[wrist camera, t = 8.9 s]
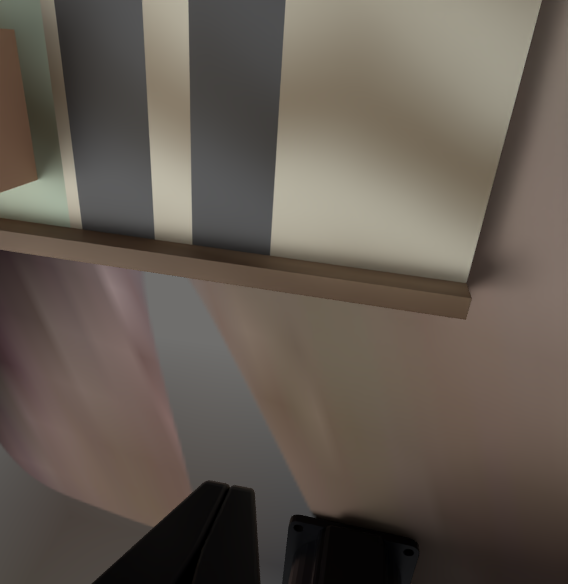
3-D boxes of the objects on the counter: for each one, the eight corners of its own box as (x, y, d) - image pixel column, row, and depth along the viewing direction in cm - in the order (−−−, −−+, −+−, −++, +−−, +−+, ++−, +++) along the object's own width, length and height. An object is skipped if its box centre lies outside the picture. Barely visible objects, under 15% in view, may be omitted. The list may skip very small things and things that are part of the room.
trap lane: (452, 307, 18) (461, 337, 16) (-57, 232, 21) (-101, 249, 19) (554, -85, 13) (585, -111, 11) (-146, -110, 16) (-221, -133, 14)
